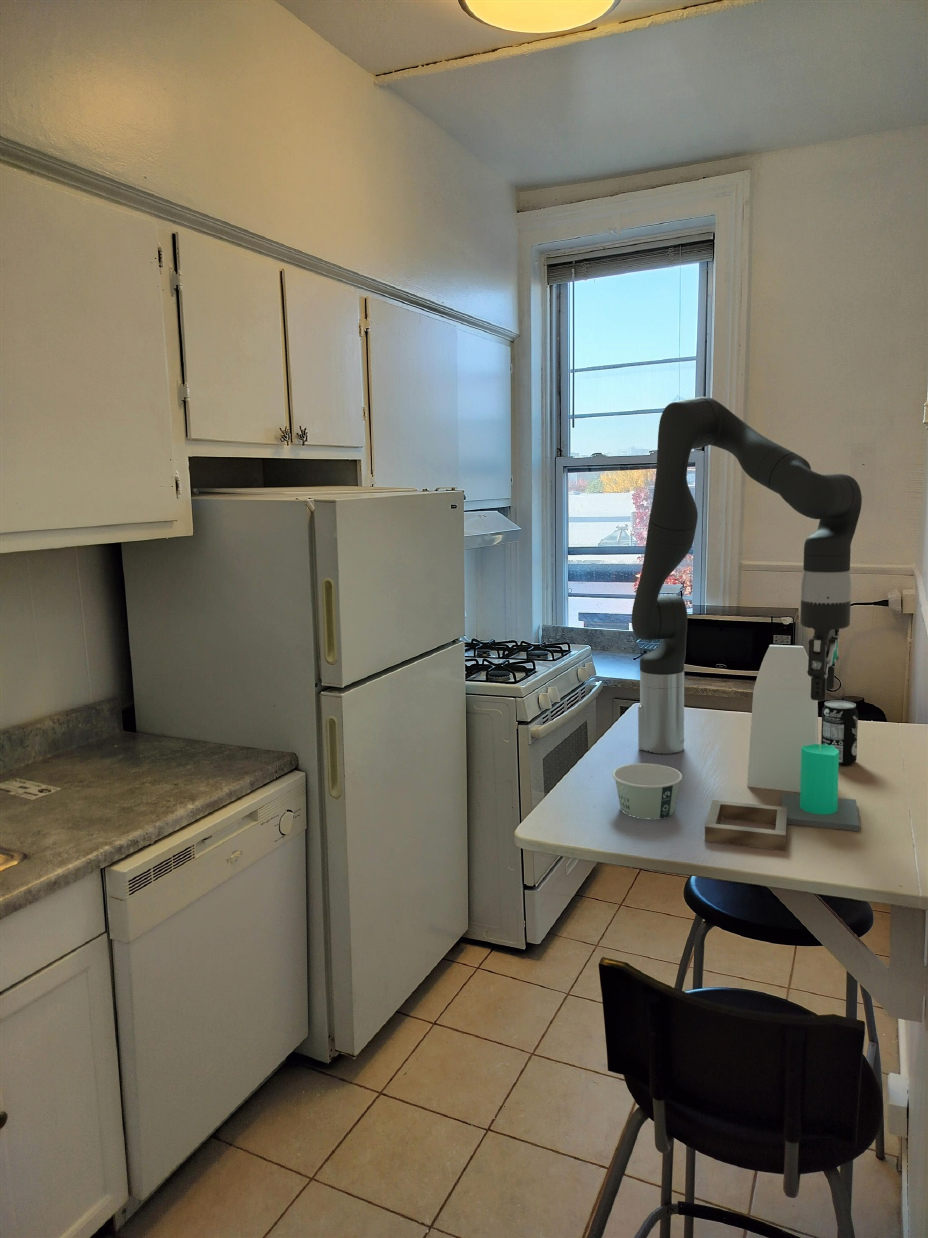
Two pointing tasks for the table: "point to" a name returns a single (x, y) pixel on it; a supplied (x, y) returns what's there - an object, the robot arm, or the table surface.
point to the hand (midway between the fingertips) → (822, 694)
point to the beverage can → (841, 729)
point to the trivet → (839, 820)
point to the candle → (819, 779)
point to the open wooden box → (746, 834)
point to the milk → (781, 719)
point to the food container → (647, 789)
